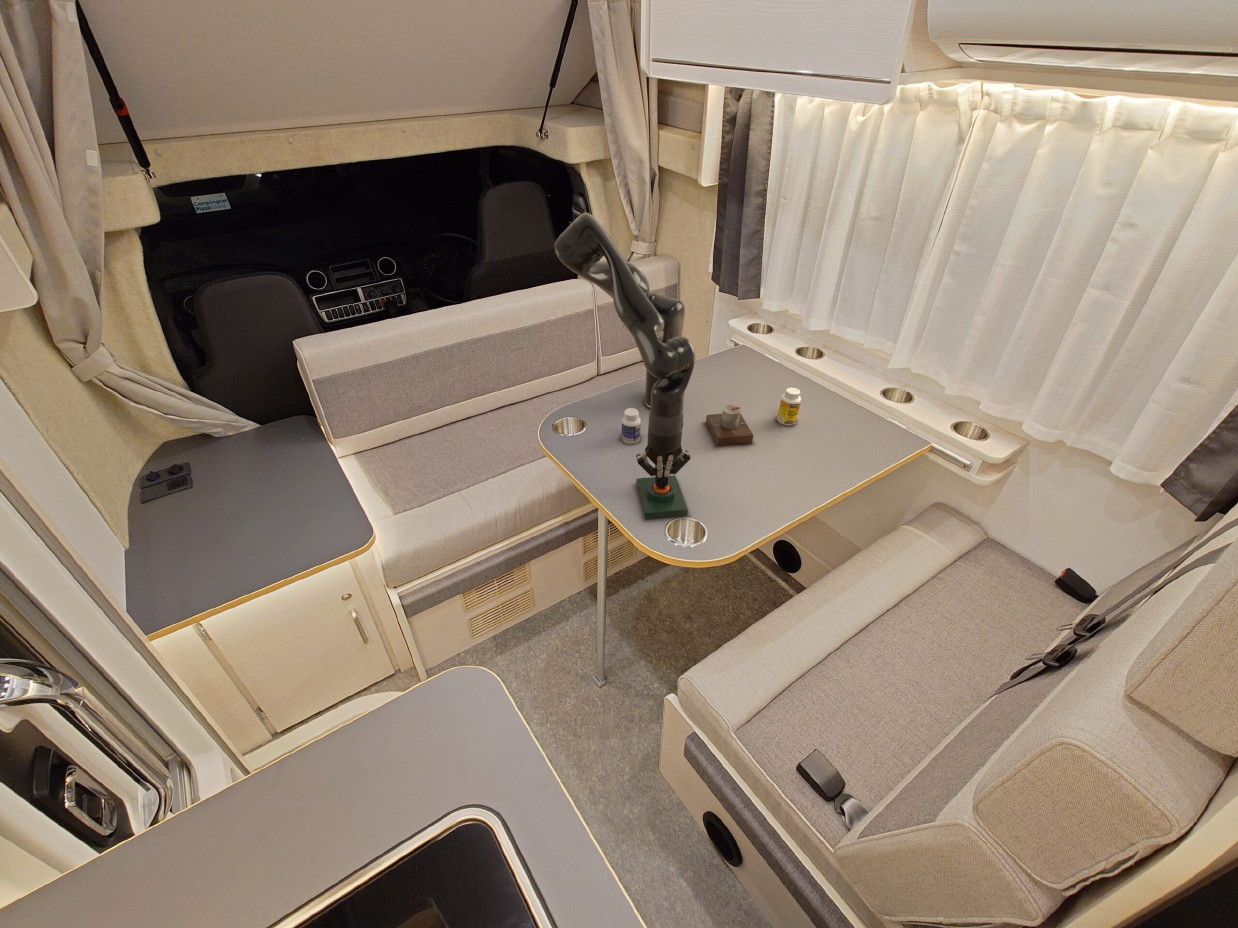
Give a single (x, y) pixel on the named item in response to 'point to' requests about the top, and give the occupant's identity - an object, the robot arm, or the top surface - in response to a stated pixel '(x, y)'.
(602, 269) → the robot arm
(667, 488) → the button
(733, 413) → the dial
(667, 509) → the switch block
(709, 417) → the dial panel
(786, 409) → the supplement bottle
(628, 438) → the pill bottle
